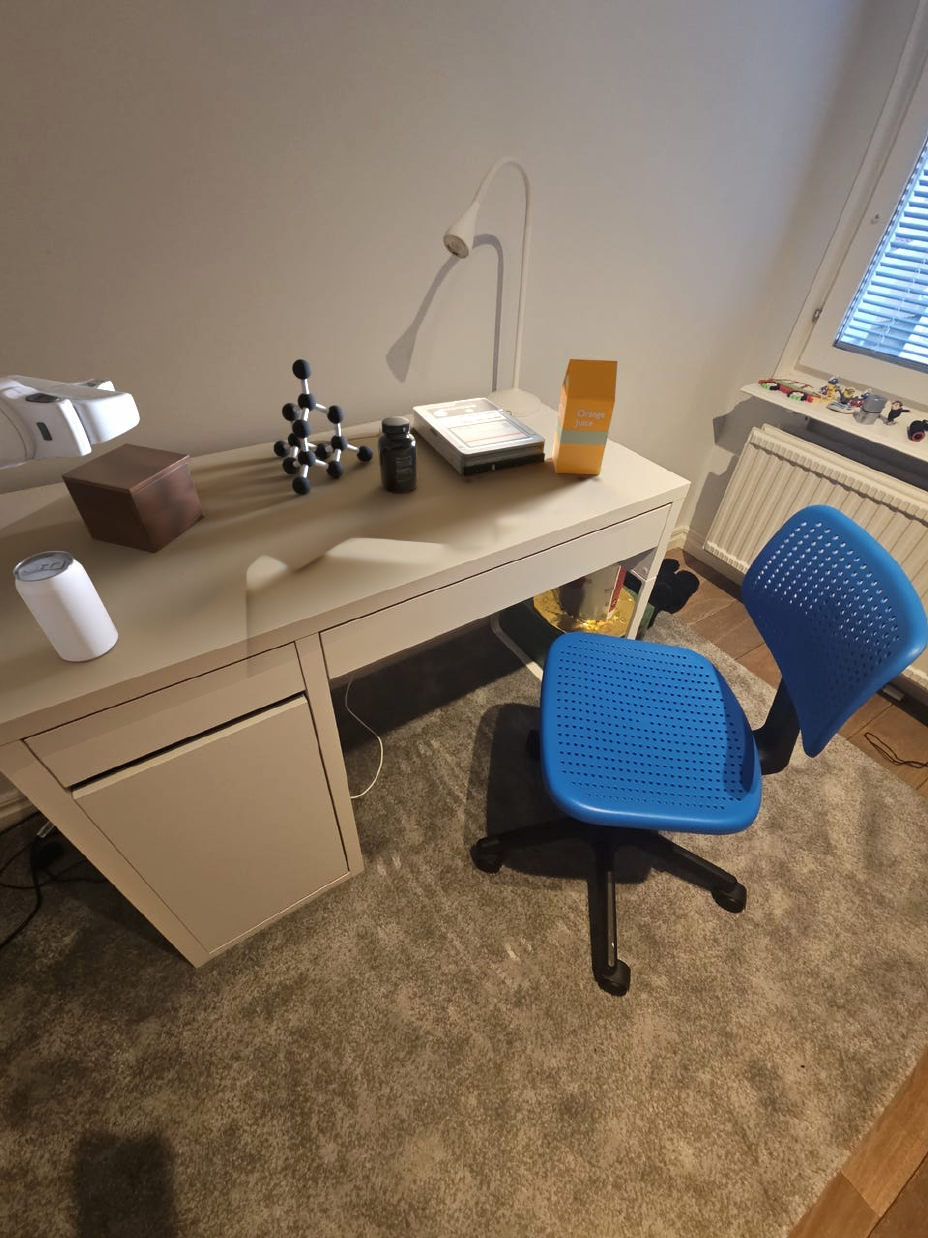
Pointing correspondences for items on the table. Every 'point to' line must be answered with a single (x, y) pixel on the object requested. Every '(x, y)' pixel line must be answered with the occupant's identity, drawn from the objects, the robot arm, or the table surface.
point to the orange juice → (584, 416)
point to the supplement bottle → (397, 456)
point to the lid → (126, 468)
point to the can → (65, 605)
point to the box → (140, 511)
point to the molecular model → (303, 430)
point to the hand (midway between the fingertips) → (105, 386)
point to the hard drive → (478, 436)
